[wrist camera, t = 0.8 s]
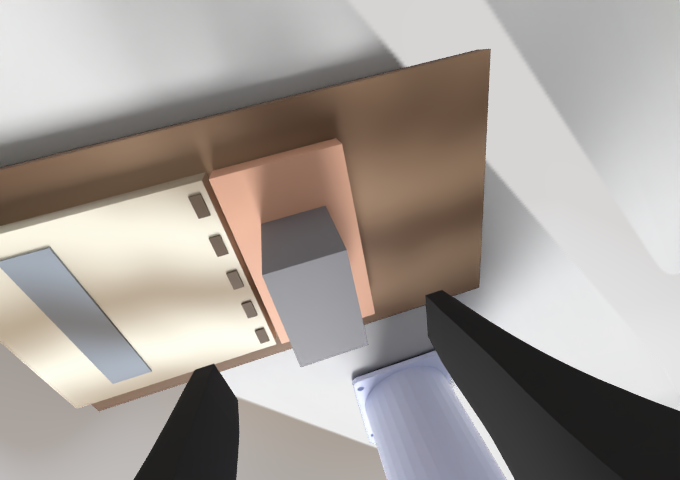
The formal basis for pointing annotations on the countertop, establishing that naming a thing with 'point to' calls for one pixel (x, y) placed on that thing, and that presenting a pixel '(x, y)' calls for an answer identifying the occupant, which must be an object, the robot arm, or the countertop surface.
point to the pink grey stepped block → (301, 246)
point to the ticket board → (215, 233)
